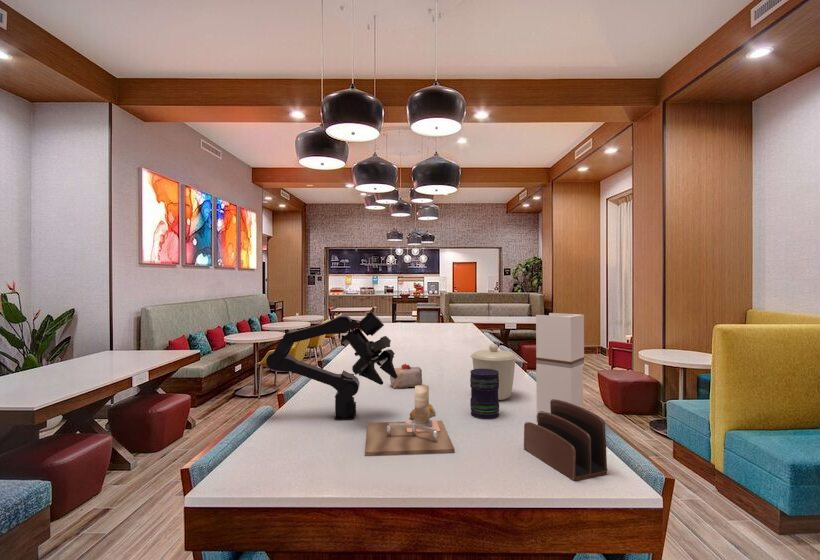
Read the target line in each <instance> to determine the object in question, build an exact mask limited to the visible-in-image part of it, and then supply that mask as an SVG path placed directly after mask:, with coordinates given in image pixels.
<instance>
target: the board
mask: <svg viewBox="0 0 820 560" xmlns="http://www.w3.org/2000/svg"><path fill="white" fill-rule="evenodd" d="M436 421H437V423H438V426H439V428H440V432H438V433H437V442H436V443H434V442H433V433H416V436H415V437H414V436H412V433H407V430H406V428H391V437H387V425H389V424H390V423H405V421H385V422H383V421H381V422H380V421H379V422H377V421H376V422H367V427H366V435H365V436H366V437H365V438H366V439H365V448H364V456H365V457H373V456H399V455H401V456H402V455H403V456H404V454H405V455H426V454H427V455H428V454H429V455H431V454H454V453H455V447H454V444H453V443H452V440H451V438H450V435H449V433H448V431H447V429H446V427H445V424H444V422H443V420H436Z"/></svg>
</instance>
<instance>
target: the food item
mask: <svg viewBox="0 0 820 560" xmlns="http://www.w3.org/2000/svg"><path fill="white" fill-rule="evenodd" d="M394 369H395V371H396V374H397V378H396V379H395V378H393V377H392V376H390V375H389V381H390V384H391V386H392V388H393V389H394V388H398V389H409V388H408V387H415V386H417V385H423V378H422V376H423V375H422V374H423V373H422V372H423V371H422V369H421V367H420V366H411V365H409V364H407V363H404V364H402V365H401V367H394Z"/></svg>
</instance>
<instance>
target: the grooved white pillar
mask: <svg viewBox="0 0 820 560" xmlns="http://www.w3.org/2000/svg"><path fill="white" fill-rule="evenodd" d="M535 339H536V340H535V341H536V342H535V343H536V344H535V346H536V347H535V354H536V355H535V356H536V359H535V361H536V364H535V367H536V368H535V371H536V373H535V374H536V381H535V383H536V423H538V412H539V411H543V412H548V413H551V410H550V401H551V400H552V399H556V400H561V401H565V402H568V403H571V404H574V405H576V406H579V407H581V408H584V383H583V382H584V375H583V374H584V368H585V314H578V313H577V314H575V313H557V312H549V313H548V315H547V314H546V315H545V314H536V315H535Z"/></svg>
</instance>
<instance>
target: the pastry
mask: <svg viewBox="0 0 820 560" xmlns="http://www.w3.org/2000/svg"><path fill="white" fill-rule="evenodd" d="M436 413H437V412H436V411H435V408H434V406H433V405H432V404H430V403H429V417H430V418H432V417H431V416H433V417H435V415H436ZM409 418H410V419H412V420H414V419H415V408H414V409H412V410H411V411H410V412H409Z"/></svg>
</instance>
